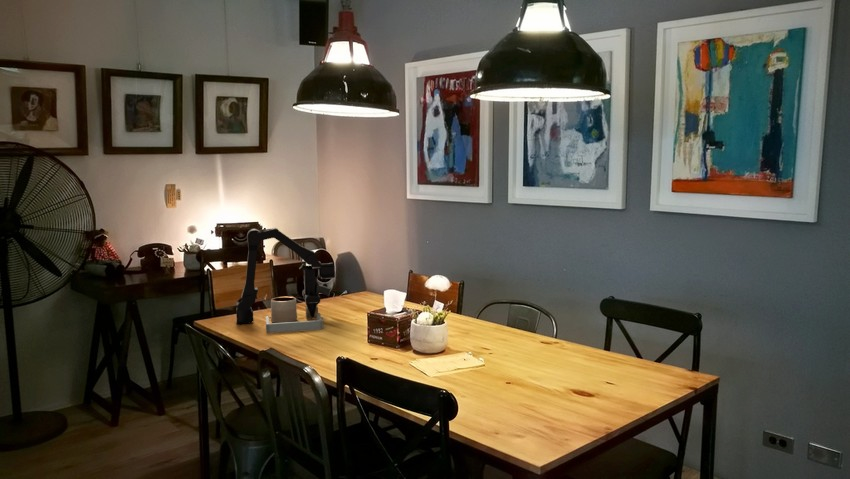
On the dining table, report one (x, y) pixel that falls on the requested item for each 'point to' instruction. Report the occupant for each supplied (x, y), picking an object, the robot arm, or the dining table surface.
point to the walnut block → (310, 315)
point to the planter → (283, 309)
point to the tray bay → (294, 325)
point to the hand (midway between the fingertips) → (311, 314)
